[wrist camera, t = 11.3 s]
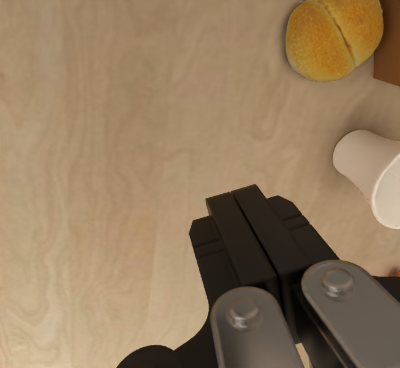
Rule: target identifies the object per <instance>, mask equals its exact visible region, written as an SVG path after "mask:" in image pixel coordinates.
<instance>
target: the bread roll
mask: <svg viewBox="0 0 400 368" xmlns="http://www.w3.org/2000/svg"><path fill="white" fill-rule="evenodd" d="M382 13H383V10H382V9H381V5H380V2H379V0H307V1H304V2H303V3H301V4H300V5H299V6H298V7H297V8H296V9H295V10H294V11H293V12H292V14H291V15H290V18H289V21H288V25H287V32H286V54H287V58H288V61H289V63H290V65H291V66H292V68H293V69H294V70H295V71H296V72H298V73H299V74H301V75H302V76H304V77H306V78H308V79H310V80H312V81H316V82H329V81H335V80H339V79H341V78H343V77H345V76H347V75H348V74H349V73H350V72H351V71H353V70H354V69H355V68H356V67H358V66H359V65H360V64H361V63H363V62H364V61H365V60H367V59H368V58H369V57H370V56H371V55H372V53H373V52H374V51H375V49H376V48H377V47H378V45H379V43H380V41H381V38H382V35H383V29H384V23H383V16H382Z"/></svg>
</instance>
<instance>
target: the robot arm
mask: <svg viewBox="0 0 400 368" xmlns="http://www.w3.org/2000/svg"><path fill="white" fill-rule="evenodd" d="M205 200H206V205H207V209H208V213H209V216H207V217H203V218H200V219H196V220H193V222H192V225H191V228H190V232H189V235H190V239H191V242H192V246H193V249H194V253H195V257H196V260H197V264H198V267H199V271H200V274H201V278H202V281H203V285H204V288H205V292H206V295H207V299H208V303H209V312H208V317H207V319H206V322H205V323H204V325H203V327H202V328H201V329H200V331H199V332H198V333H197V334H196V335H195V336H194V337H193V338H191V339H190V340H189V341H187V342H186V343H184V344H183V345H181V346H180V347H178V348H177V349H175V350H174V351H173V350H172V349H170V348H168V347H166V346H161V345H150V346H146V347H142V348H140V349H138V350H136V351H134V352H132V353H131V354H129V355H128V356H127V357H125V358H124V359H123V360H122V361H121V362H120V364H119V365H118V366H117V368H304V365H303V363H302V360H301V358H300V355H299V353H298V350H297V348H296V346H295V344H298V343H302V345H303V347H304V349H305V351H306V352H307V354H308V356H309V366H310V368H400V276H398V277H378V276H371V275H370V274H369V273H368V272H367V271H366V270H364V269H363V268H361V267H360V266H358V265H356V264H353V263H350V262H347V261H342V260H340V259H339V258H338V256H337V255H336V254H335V253H334V252H333V250H332V249H331V248H330V247H329V246H328V244H327V243H326V242H325V241H324V240H323V238H322V237H321V236H320V235H319V234H318V232H317V231H316V230H315V229H314V228H313V226H312V225H310V224H309V222H308V220H307V219H306V218H305V217H304V216H302V213H301V212H300V211H299V210H298V208H297V207H296V206H295V205H294V204H293V202H291V201H289V200H287V199H285V198H283V197H281V196H278V195H277V196H274V197H271V198H267V199H266V197H265V196H264V195H263V193H262V192H261V190H260V189H259V188H258V186H257V185H256V184H254V185H250V186H247V187H244V188H240V189H237V190H233V191H231V193H230V192H227V193H223V194H220V195H216V196H213V197H210V198H206V199H205Z"/></svg>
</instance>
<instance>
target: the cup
mask: <svg viewBox="0 0 400 368" xmlns="http://www.w3.org/2000/svg"><path fill="white" fill-rule="evenodd" d="M333 164H334V167H335V168H336V169H337V171H338V172H340V173H341V174H343V175H345V176H346V177H347V178H348V179H350V180H351V181H352V182H353V183H354V184H355V185H356V186H357V187H358V188H359V189H360V190H361V192H362V194H363V195H364V196H365V198H366V199H367V200H368V202H369V204H370V206H371V209H372V211H373V214H374V216H375V218H376V219H377V220H378V221H379V222H380V223H381V224H382V225H384V226H386V227H389V228H394V229H400V140H391V139H388V138H385V137H382V136H379V135H376V134H374V133H372V132H370V131H368V130H360V129H359V130H356V131H352V132H350V133H348V134H347V135H345V136H344V137H343V138H342V139H341V140H340V141H339V142H338V143H337V145H336V147H335V149H334V154H333Z"/></svg>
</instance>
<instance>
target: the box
mask: <svg viewBox="0 0 400 368" xmlns="http://www.w3.org/2000/svg"><path fill="white" fill-rule="evenodd" d="M379 2H380V5H381V9H382V10H383V13H382V16H383V23H384V29H383V35H382V38H381V41H380V43H379V45H378V47H377V48H376V49H375V57H374V78H375V79H378V80H382V81H385V82H388V83H391V84H394V85H398V86H400V0H379Z"/></svg>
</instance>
